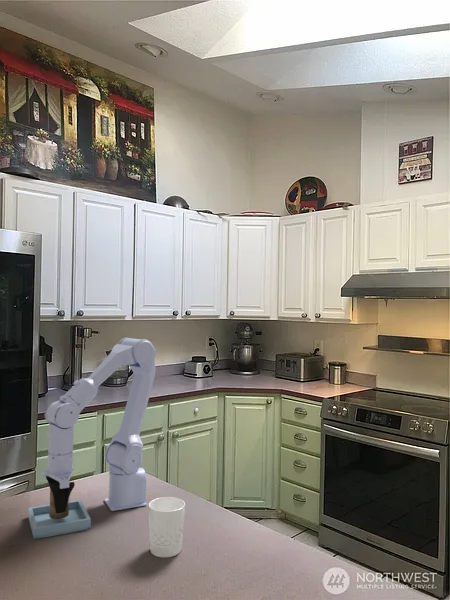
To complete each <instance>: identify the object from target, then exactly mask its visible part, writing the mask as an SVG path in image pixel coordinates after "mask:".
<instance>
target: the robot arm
mask: <svg viewBox="0 0 450 600" xmlns="http://www.w3.org/2000/svg"><path fill="white" fill-rule="evenodd" d="M111 349H112V350H111V351H110V353H109V354H108V355H107V356H106V357H105V358H104V359H103V361H102V362H101V363H99V365H98V366H97V367H96V368H95V370H94V371H93V372H92V373H91V374H90V375H89V376H88V377H87V378H85V377H83V378H80V379H79V380H78V379H76V380H75V381H74V382H73V383H72V385H73V386H72V387H71V388H70V389H69V390H68V391H67V392H65V394H64V395H60V397H59V400H57V401H54V402H52V403H51V404H50V405H49V406H48V407H47V409H46V412H45V413H44V418H45V420H46V422H47V423H48V446H47V448H48V449H47V450H48V452H47V453H48V454H47V470H43V471H42V473H41V475H42V476H43V477H45V478H46V481H47V482H48V486H49V489H50V490H51V491H52V493H53V497H54V505H55V510H56V513H63V512H65V511H66V508H67V504H68V499H69V500H70V496H71V493H72V491H73V490H74V488H75V482H74V481H70V479H71V478H72V475H73V473H74V467H73V462H74V461H73V460H74V456H73V455H74V429H75V427H74V426H75V424H77V423H78V421H79V417H80V414H81V412H82V411H83V409H85V408H86V407H87V406H88V405H89V403H91V402H92V400H93V399H94V398H95V397H96V396H97V395H98V393H99V387H100V386H101V385H102V383H104V382H105V381H106V380H107V379H109V377H110V376H112V375H113V374H114V373H115V372H116V371H117V370H118V369H120V368H121V367H122V366H123V367H124V366H129V368H130V370H131V371H132V372H133V375H134V376H133V379H132V383H131V385H130V391H129V395H128V397H127V402H126V405H125V408H124V412H123V415H122V419H121V423H120V426H119V431H118V432H117V433H115V434H114V435H112V438H111V442H110V443H109V444H108V445H107V448H106V450H105V452H104V458H105V461H106V462H107V464H109V465H108V469H109V474H108V475H109V476H108V477H109V478H108V479H109V480H108V482H109V483H108V497H106V498H103V499H104V503H105V504H106V505H107V507H108V509H109V510H110V511H111V512H114V511H120V510H121V511H122V510H126V509H132V508H133V509H134V508H140V507H142V506H143V507H144V506H147V504H148V503H147V498H146V497H147V474H146V471H145V468H143V467H141V466H142V463H143V460H144V459H143V457H144V456H143V448H144V444H143V442H142V439H141V437H140V435H141V434H140V433H141V431H142V427H143V422H144V418H145V415H146V411H147V407H148V404H149V399H150V396H151V391H152V389H153V384H154V381H155V375H156V372H157V371H156V370H157V368H156V362H155V361H156V360H155V358H156V354H157V350H156V348H155V346H154V345H153V343H152V342H151V341H150V340H149V339H144V338H143V339H139V338H131V337H123V338H121V339H120V340H119V341H118V343H116V344H115V345H114V346H113V347H112V348H111Z"/></svg>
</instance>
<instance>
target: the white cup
mask: <svg viewBox="0 0 450 600" xmlns="http://www.w3.org/2000/svg"><path fill="white" fill-rule="evenodd" d="M185 509H186V502H185V501H184V500H183V499H181V498H179V497H174V496H162V497H157V498H154V499H152V500H150V501H149V503H148V531H149V533H148V534H149V536H148V537H149V550H150V553H151V554H152V555H153V556H155V557H156V558H157V557H158V558H163V559H164V558H172V557H175V556H177V555H178V554H180V553H181V551H182V545H183V537H184V536H183V535H184V526H185Z"/></svg>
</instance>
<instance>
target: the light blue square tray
mask: <svg viewBox="0 0 450 600" xmlns="http://www.w3.org/2000/svg"><path fill="white" fill-rule="evenodd" d="M49 512H50V504H44V505H39V506H38V505H37V506H31V507H28V511H27V513H28V515H27V516H28V522H29V526H30V529H31V530H30V531H31V534H32V538H33V540H36V539H38V540H39V539H43V538H48V537H53V536H59V535H65V534H71V533H77V532H81V531H87V530H91V526H92V525H91V524H92V521H91V520H92V519H91V517H90V515H89V513H88V511H87V509H86V507H85V505H84V504H83V501H82V499H78V500H77V499H76V500H69V515H68V516H67V517H65V518H62V519H52V518H50V517H49Z"/></svg>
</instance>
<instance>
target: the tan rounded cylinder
mask: <svg viewBox="0 0 450 600" xmlns="http://www.w3.org/2000/svg"><path fill="white" fill-rule="evenodd" d="M69 501H70V498H69V499H68V504H67V508H66V511H65V512H63V513H56V510H55V505H54V497H53V493H52V491H51V490H50V491H49V505H50V512H49V517H50V518H52V519H62V518H65V517H67V516H68V515H69Z"/></svg>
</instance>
